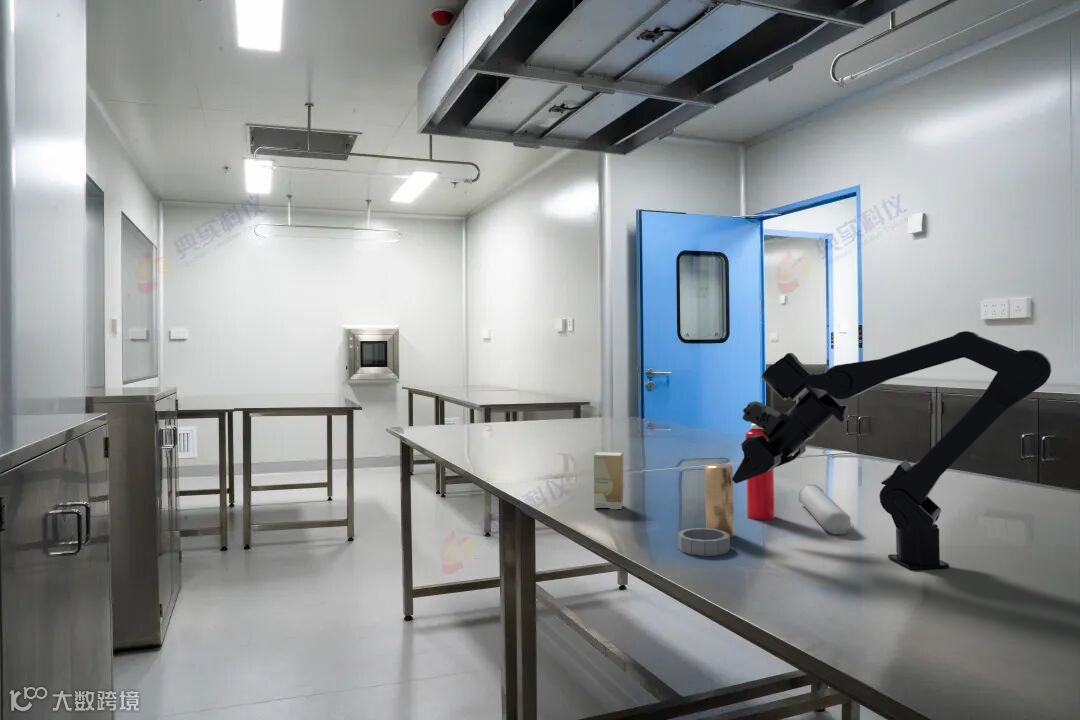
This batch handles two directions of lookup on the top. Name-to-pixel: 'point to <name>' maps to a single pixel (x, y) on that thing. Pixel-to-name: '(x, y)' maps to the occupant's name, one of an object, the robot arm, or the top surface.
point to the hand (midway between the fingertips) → (743, 477)
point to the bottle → (760, 489)
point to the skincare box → (608, 480)
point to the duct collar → (704, 541)
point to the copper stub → (719, 498)
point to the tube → (824, 509)
